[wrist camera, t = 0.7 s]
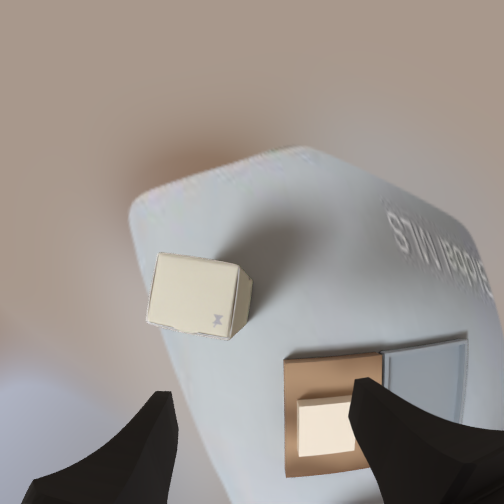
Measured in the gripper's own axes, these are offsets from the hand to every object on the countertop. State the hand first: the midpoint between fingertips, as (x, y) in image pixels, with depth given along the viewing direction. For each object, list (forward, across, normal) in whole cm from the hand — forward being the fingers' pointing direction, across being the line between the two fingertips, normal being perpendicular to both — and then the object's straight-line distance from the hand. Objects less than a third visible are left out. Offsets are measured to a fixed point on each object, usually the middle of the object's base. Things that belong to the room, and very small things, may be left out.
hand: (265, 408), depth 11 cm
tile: (+12, -7, +12) cm, 18 cm away
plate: (+14, -8, +13) cm, 20 cm away
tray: (+13, -18, +13) cm, 25 cm away
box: (+19, +2, +2) cm, 19 cm away
